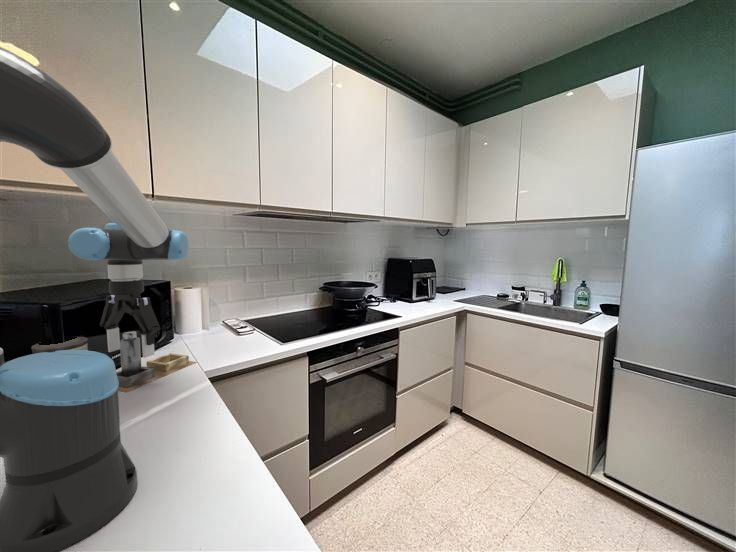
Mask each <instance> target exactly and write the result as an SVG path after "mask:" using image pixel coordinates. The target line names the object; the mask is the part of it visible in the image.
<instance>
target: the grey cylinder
mask: <svg viewBox="0 0 736 552" xmlns="http://www.w3.org/2000/svg"><path fill="white" fill-rule="evenodd" d="M119 350H120V366H121V369H120V371H122V376H124V377H130V376H133V375H136V374H138V373H141V372H142V369H141V366H142V357H141V356H142V354H141V352H142V351H141V338H140V337H137V331H135V330H134V331H125V332H123V333H122V339H120V349H119Z"/></svg>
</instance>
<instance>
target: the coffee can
mask: <svg viewBox="0 0 736 552" xmlns="http://www.w3.org/2000/svg"><path fill="white" fill-rule="evenodd" d="M76 337H77V338H75V339H72V340H69V341H66V342H63V343H58V344H50V345H39V344H38V343H35V344H33V345H32V346H31V347H30V348H31V352H32V354H36V353H42V352H55V351H60V350H88V341H89V339H88V337H86V336H76ZM88 351H89V350H88Z"/></svg>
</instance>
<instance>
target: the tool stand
mask: <svg viewBox="0 0 736 552" xmlns="http://www.w3.org/2000/svg"><path fill="white" fill-rule="evenodd" d="M145 362H146V366H142V365H141V369H142V372H141V373H138V374H136V375H133V376H130V377H124V376H122V370H120V371H116V374H117V378H118V381H119V386H118V392H122V393H123V392H124V393H128V392H130V391H134V390H135V389H138V388H140V387H143V386H145V385H147V384H150V383H152V382H154V381H155V382H156V380H159V379H161V378H163V377H167V376H168V375H170V374H171V375H172V374H173V373H175V372H178V371H181V370H182V369H185V368H188V367H189V366H192V365H195V364H197V363H198V361H193V360H192V361H191V360H190V358H189V355H187V354H186V355H184V354H178V353H173V352H172V353H168V354H164V355H161V356H159V357H156V358H153V359H149V360H148V361H145Z"/></svg>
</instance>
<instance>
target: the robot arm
mask: <svg viewBox="0 0 736 552" xmlns="http://www.w3.org/2000/svg"><path fill="white" fill-rule="evenodd" d="M1 142H4V143H9V144H14V145H17V146H19V147H22V148H24V149H26V150H29V151H30V152H32V153H33V154H34V156H36V157H37V158H38V159H39V160H40V161H41V162H43V164H45V165H47V166H50V167H52V168H56V169H58V170H59V169H60V170H61V171H62V172H63V174H65V175H66V176H67V177H68V178H69V179H70V180H71V181H72V182H73V183H74V184H75V185H76V186H77V187H78V188H79V189H80V190H81V191H82V192H83V193H84V194H85V196H87V197H88V198H89V199H90V200H91V201H92V202H93V203H94V204H95V205H96V206H97V207H98V208H99V209H100V210H101V211H102V212H103V213H104V214H105V215H106V216H107V217H108V218H109V219H110V220H111V221H112V222H109V223H106V224H105V226H104V228H98V227H82V228H78V229H76V230H74V231H73V232H72V233H71V234H70V235H69V237H68V240H67V245H68V249H69V250H70V252H71V253H72V254H73V255H74V256H75V257H77V258H78V259H81V260H85V261H101V260H104V261H106V260H107V263H106V264H107V278H108V279H109V282H108V292H109V294H110V295H106V296H105V304H104V308H103V312H102V315H101V319H100V322H99V327H104V329H105V331H106V339H107V342H106V343H107V352H108V353H112V352H115V351H119V350H120V340H121V339H120V328H119V323H120V321H121V320H122V318H123V316H124V315H125V313H126V314H129V315H130V316H132V317H133V318H134V320H135V321H136V322H137V325H138V327H139V328H140V329H141V330H142V333H141V350H142V351H141V352H142V358H148V357H152V356H155V333H156V332H158V331H161V328H162V327H161V325H160V324H159V321H158V319H157V316H156V314H155V312H154V309H153V307H152V302H151V298H150V297H149V296H148V297H141V294H143V293H144V292H145V283H144V280H143V278H144V272H143V271H144V270H143V261H145V260H146V261H176V260H177V261H178V260H183V259H185V258H186V257H187V255H188V253H189V240H188V237H187V235H186V233H185V232H183V231H181V230H175V229H172V230H170V229H169V228H168V227H167V225H166V224H165V222H164V221H163V219H162V218H161V217H160V216H159V214H158V213H157V211H156V210H155V209H154V207H153V206H152V205H151V203H150V202H149V200H148V199H147V198H146V196H145V195H144V194H143V192H142V190H140V188H139V187H138V185H137V184H136V183H135V181H134V180H133V178H132V177H131V175H130V174H129V173H128V172H127V170H126V169H125V168H124V166H123V164H121V162H120V161H119V159H118V158H117V157H116V155H115V154H114V152H113V151H112V147H113V143H112V139H111V137H110V135H109V134H108V132H107V131H106V129H105V128H104V126H102V124H101V122H100V121H99V120H98V119H97V118H96V116H95V115H94V114H93V113H92V112H91V111H90V110H89V109H88V107H86V106H85V105H84V104H83V103H82V102H81V101H80V100H79V99H78V98H77V97H76V96H75V95H74V94H73V93H71V91H69V90H68V89H67V88H65V87H64V86H63V85H62V84H61V83H60V82H58V81H57V80H55V79H54V78H53V77H51V75H49V74H48V73H46V71H43V70H42V69H40V68H39V67H37V66H36V65H34V64H32V63H31V62H29V61H27V60H26V59H25V58H23V57H21V56H19V55H18V54H16V53H15V52H12V51H11V50H8V49H6V48H4V47H1V46H0V143H1ZM115 364H116V363H115V362H114V360H113V359H112V358H111V357H109V355H107V354H106V353H102V352H100V351H93V350H60V351H55V352H42V353H36V354H33V353H32V354H27V355H24V356H20V357H17V358H14V359H12V360H8V361H5V356H4V349H3V348H2V347H0V458H2V460H3V465H4V476H5V486H4V489H3V491H2V495H1V497H0V552H58V551H61V550H63V549H65V548H67V547H70V546H72V545H74V544H75V543H77V542H80V541H81V540H83V539H84V538H87V537H88V536H89V535H91V534H94V533H95V532H96V531H98V530H99V529H101V528H102V527H103V526H104V525H106V524H108V523H109V522H110V521H111V520H113V519H114V518H115V517H116V516H117V515H118V514H119V513H121V511H123V509H124V508H125V507H127V505H128V503H130V501H131V500H132V498H133V497H134V496H135V493H136V490H137V488H138V473H137V472H138V471H137V467H136V466H135V464H134V462H133V460H132V458H131V457H130V455H129V453H128V451H126V448H125V447H124V445H123V444H122V440H121V427H120V426H121V425H120V424H121V423H120V404H119V403H120V402H119V391H118V386H119V381H118V378H117V374H116V372H117V370H116V365H115Z"/></svg>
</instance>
